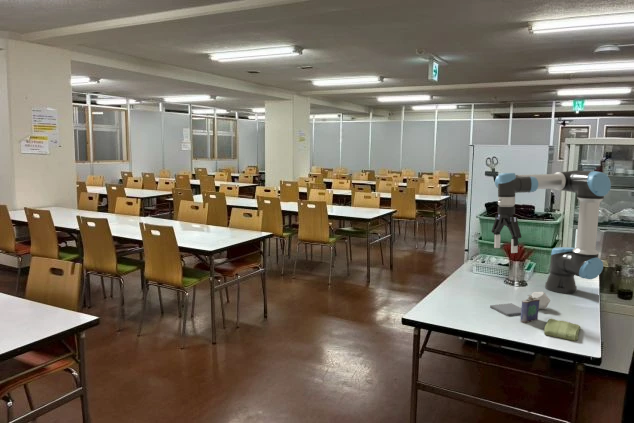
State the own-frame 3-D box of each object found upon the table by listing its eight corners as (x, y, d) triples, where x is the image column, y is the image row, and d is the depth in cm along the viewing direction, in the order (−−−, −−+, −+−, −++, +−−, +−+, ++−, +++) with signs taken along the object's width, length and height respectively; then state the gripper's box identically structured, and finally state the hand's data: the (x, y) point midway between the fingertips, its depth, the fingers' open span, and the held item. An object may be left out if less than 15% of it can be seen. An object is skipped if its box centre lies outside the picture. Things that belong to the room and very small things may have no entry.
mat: (511, 305, 226) (511, 303, 226) (528, 313, 215) (528, 311, 215) (490, 307, 223) (490, 305, 223) (506, 316, 211) (507, 314, 211)
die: (547, 314, 216) (556, 296, 218) (530, 304, 217) (539, 286, 219) (538, 314, 224) (547, 297, 226) (522, 304, 225) (531, 287, 227)
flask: (523, 323, 203) (525, 297, 201) (517, 321, 206) (519, 295, 204) (539, 319, 207) (541, 294, 206) (533, 317, 210) (535, 292, 208)
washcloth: (581, 329, 198) (581, 322, 198) (577, 343, 183) (578, 335, 183) (547, 322, 205) (547, 315, 205) (541, 335, 191) (541, 328, 190)
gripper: (484, 204, 231) (484, 246, 233) (515, 208, 206) (514, 255, 208) (498, 203, 232) (497, 245, 234) (530, 207, 208) (529, 254, 210)
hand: (505, 250), depth 221 cm, fingers open, 13 cm apart
